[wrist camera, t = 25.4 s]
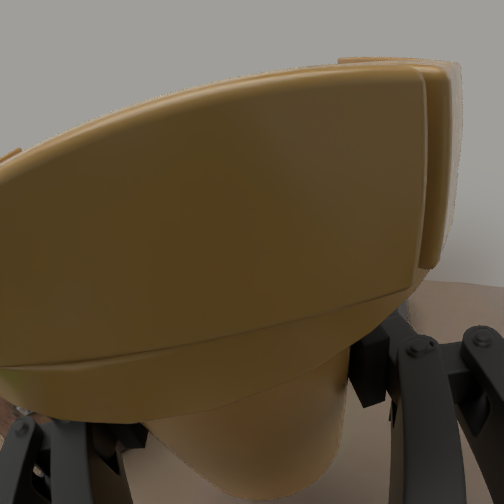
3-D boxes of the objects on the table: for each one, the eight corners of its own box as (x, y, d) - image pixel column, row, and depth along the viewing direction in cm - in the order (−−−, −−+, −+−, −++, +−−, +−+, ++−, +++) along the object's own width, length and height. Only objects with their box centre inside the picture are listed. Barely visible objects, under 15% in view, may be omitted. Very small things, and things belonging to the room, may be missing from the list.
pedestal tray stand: (408, 495, 9) (621, 110, 1) (160, 540, 9) (-165, 310, 1) (338, 327, 18) (318, 59, 10) (162, 365, 17) (49, 131, 10)
